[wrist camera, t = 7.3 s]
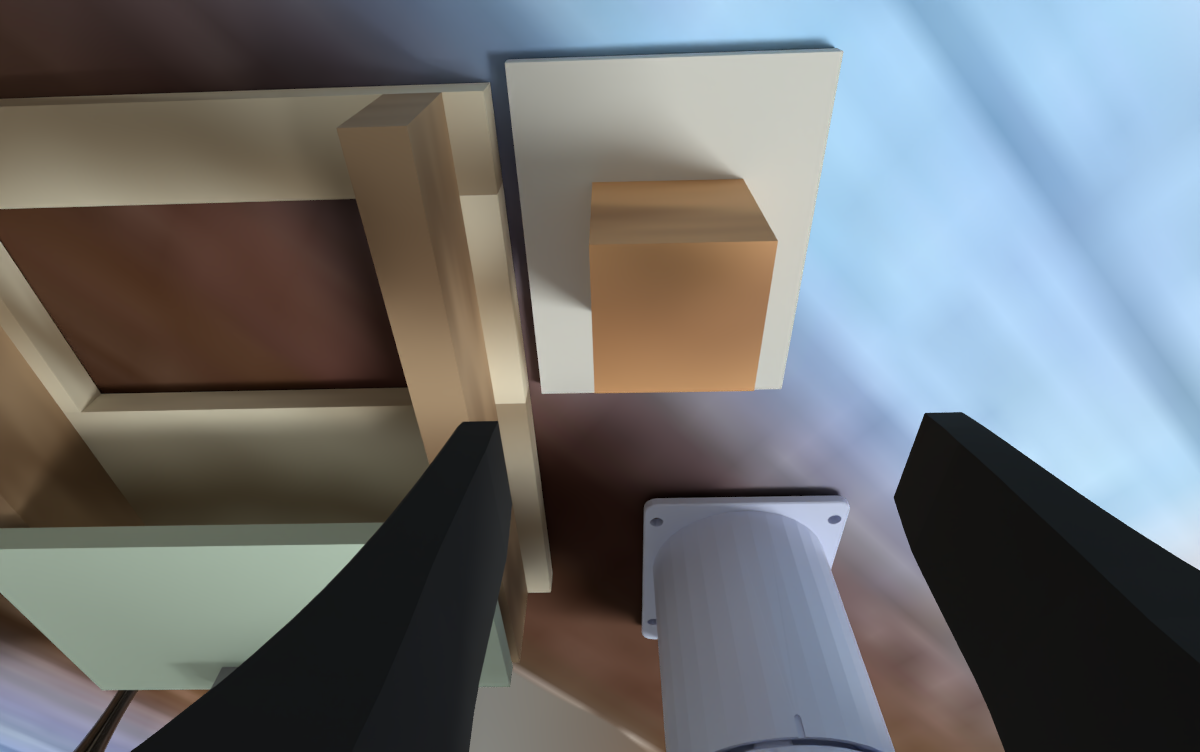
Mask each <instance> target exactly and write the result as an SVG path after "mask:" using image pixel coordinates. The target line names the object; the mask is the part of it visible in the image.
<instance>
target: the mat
mask: <svg viewBox="0 0 1200 752" xmlns="http://www.w3.org/2000/svg"><path fill="white" fill-rule="evenodd" d="M842 56H843V51H842V50H840V49H838V48H826V49H797V50H768V51H739V52H710V53H681V54H652V55H623V56H594V57H564V58H535V59H507V61H506V62H505V70H506V79H507V88H508V97H509V106H510V115H511V123H512V132H513V141H514V150H515V159H516V168H517V177H518V186H519V195H520V203H521V212H522V221H523V230H524V239H525V248H526V257H527V266H528V275H529V283H530V292H531V301H532V310H533V319H534V328H535V337H536V346H537V355H538V363H539V372H540V381H541V390H542V394H553V393H595V391H594V365H593V339H592V313H591V287H590V260H589V234H590V216H591V197H592V182H627V181H672V180H717V179H744V181H745V183H746V185H747V186H748V188H749V190H750V192H751V194H752V195H753V197H754V199H755V201H756V203H757V204H758V206H759V208H760V210H761V211H762V213H763V215H764V217H765V219H766V220H767V222H768V224H769V226H770V228H771V229H772V231H773V233H774V235H775V236H776V238H777V240H778V244H777V251H776V257H775V263H774V269H773V276H772V282H771V288H770V295H769V301H768V307H767V313H766V320H765V326H764V332H763V338H762V345H761V351H760V357H759V363H758V370H757V376H756V382H755V389H781V388H782V383H783V377H784V372H785V366H786V361H787V355H788V350H789V345H790V339H791V334H792V328H793V323H794V317H795V312H796V307H797V301H798V296H799V290H800V285H801V279H802V274H803V268H804V263H805V258H806V252H807V247H808V241H809V236H810V230H811V225H812V219H813V214H814V209H815V203H816V198H817V192H818V187H819V181H820V176H821V170H822V165H823V160H824V154H825V149H826V143H827V138H828V132H829V127H830V122H831V116H832V111H833V105H834V100H835V94H836V89H837V83H838V78H839V73H840V67H841V62H842Z"/></svg>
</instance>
